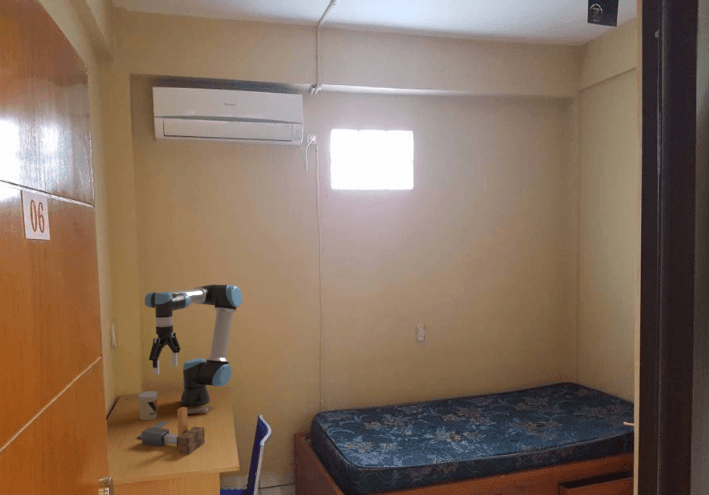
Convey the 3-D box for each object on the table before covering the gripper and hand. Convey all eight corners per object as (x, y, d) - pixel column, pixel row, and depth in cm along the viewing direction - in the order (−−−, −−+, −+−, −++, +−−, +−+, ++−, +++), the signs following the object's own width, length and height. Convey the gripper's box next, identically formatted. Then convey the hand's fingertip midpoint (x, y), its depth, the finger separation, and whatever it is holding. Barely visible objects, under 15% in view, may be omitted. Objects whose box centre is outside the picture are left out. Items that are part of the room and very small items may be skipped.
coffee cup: (151, 421, 264) (150, 397, 263) (134, 420, 266) (133, 396, 265) (162, 414, 273) (161, 391, 272) (145, 413, 275) (144, 390, 274)
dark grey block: (150, 439, 242) (149, 427, 241) (169, 442, 239) (168, 429, 238) (142, 444, 236) (141, 431, 236) (161, 447, 233) (160, 434, 233)
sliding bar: (157, 439, 240) (156, 403, 239) (196, 443, 234) (195, 407, 233) (151, 443, 235) (150, 407, 235) (190, 448, 230) (189, 411, 229)
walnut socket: (194, 441, 239) (194, 426, 238) (204, 443, 237) (204, 427, 237) (178, 453, 227) (178, 437, 227) (188, 454, 226) (188, 438, 225)
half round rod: (135, 439, 243) (135, 436, 243) (159, 423, 262) (159, 420, 262) (144, 440, 242) (143, 436, 242) (167, 424, 261) (167, 420, 261)
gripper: (173, 320, 262) (175, 362, 263) (139, 330, 238) (141, 377, 240) (187, 320, 260) (188, 363, 261) (153, 331, 236) (155, 378, 237)
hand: (165, 370), depth 250 cm, fingers open, 13 cm apart
